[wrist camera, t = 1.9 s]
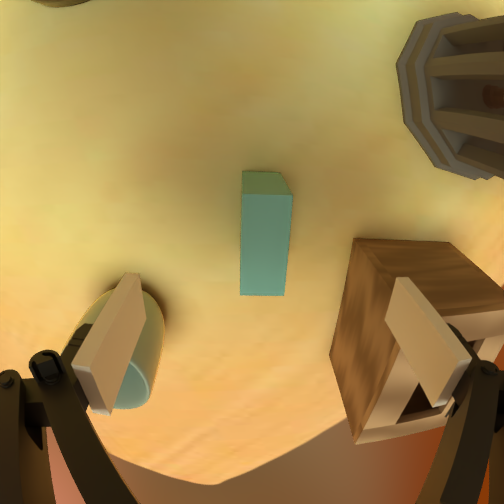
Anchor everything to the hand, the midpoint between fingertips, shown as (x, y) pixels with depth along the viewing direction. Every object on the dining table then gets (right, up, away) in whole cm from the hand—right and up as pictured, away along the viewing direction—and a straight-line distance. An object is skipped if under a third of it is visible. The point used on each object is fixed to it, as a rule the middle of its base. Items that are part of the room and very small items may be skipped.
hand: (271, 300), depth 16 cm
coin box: (+13, -3, +15) cm, 20 cm away
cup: (-13, -3, +15) cm, 20 cm away
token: (0, +6, +11) cm, 12 cm away
